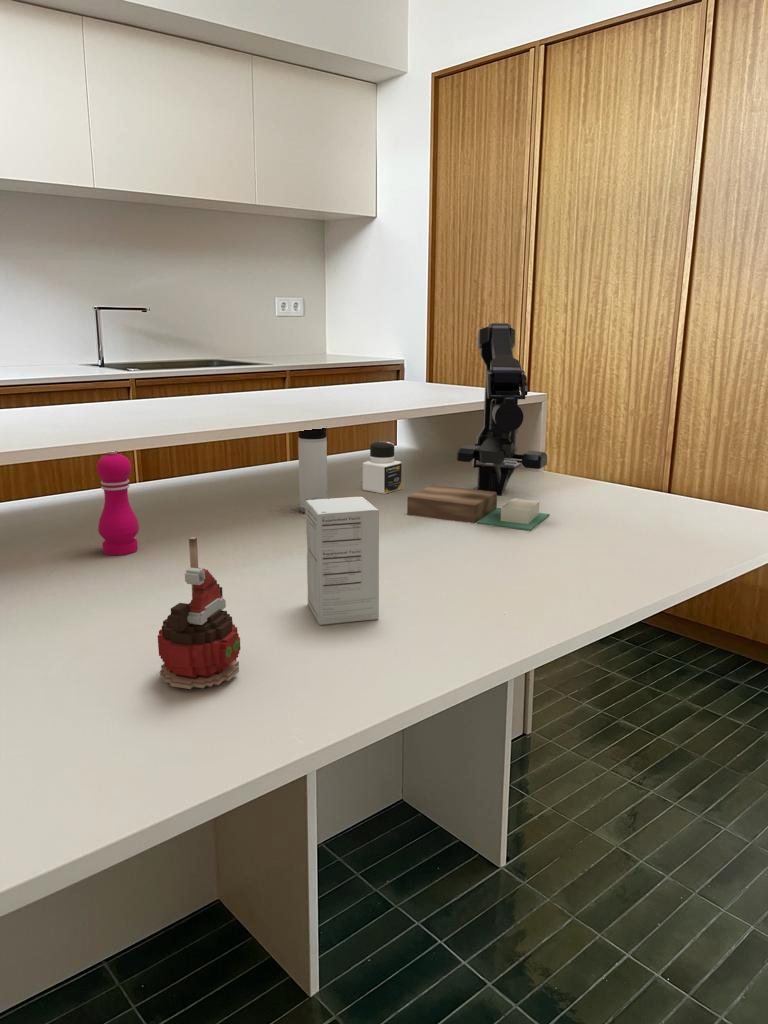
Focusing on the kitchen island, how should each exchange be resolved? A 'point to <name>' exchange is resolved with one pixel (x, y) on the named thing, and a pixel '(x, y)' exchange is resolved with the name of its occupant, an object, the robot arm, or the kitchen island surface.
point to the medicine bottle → (382, 469)
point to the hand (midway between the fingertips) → (499, 495)
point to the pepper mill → (116, 506)
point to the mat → (495, 520)
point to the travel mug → (312, 466)
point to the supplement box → (342, 559)
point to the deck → (452, 503)
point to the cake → (199, 634)
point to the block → (520, 511)
